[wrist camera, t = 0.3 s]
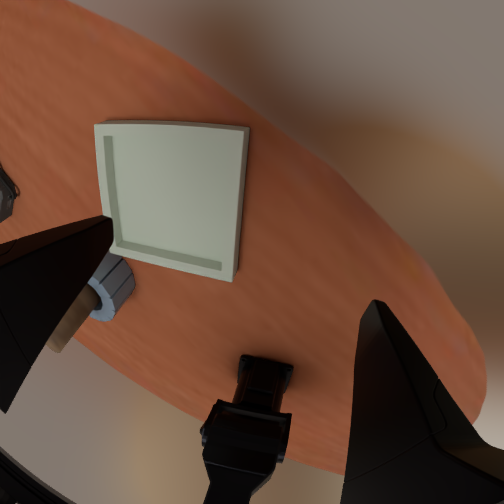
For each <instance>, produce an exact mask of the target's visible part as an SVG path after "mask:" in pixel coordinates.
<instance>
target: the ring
mask: <svg viewBox="0 0 504 504" xmlns="http://www.w3.org/2000/svg"><path fill="white" fill-rule="evenodd" d="M121 259H122V257H121V256H120V255H116V254H113V253H110V250H108V252H107V254H106V255H105V257H104V258H103V260H102V262H101V263H100V265H99V266H98V268H97V270H96V271H95V273H94V274H93V276H92V277H91V279H90V280H89V282H88V284H89V285H90V286H92V287H93V288H94V289H95V290H96V292H97V293H98V294H99V296H100V297H101V301H100V302H99V304H98V305H97V306H96V307H95V308H94V310H93V311H92V312H91V313H90V317H92V318H94V319H97V320H99V321H110V320H112V319H113V318H114V316H115V315H116V314H117V312H118V311H119V310H120V308H121V307H122V306H123V304H124V303H125V302H126V300H127V299H128V298H129V296H130V295H131V294H132V292H133V290H134V288H135V281H134V276H133V273H131V272H132V270H131V269H130V267H129V266H128V264H127V263H126V261H125V260H124V259H123V260H121Z"/></svg>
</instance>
